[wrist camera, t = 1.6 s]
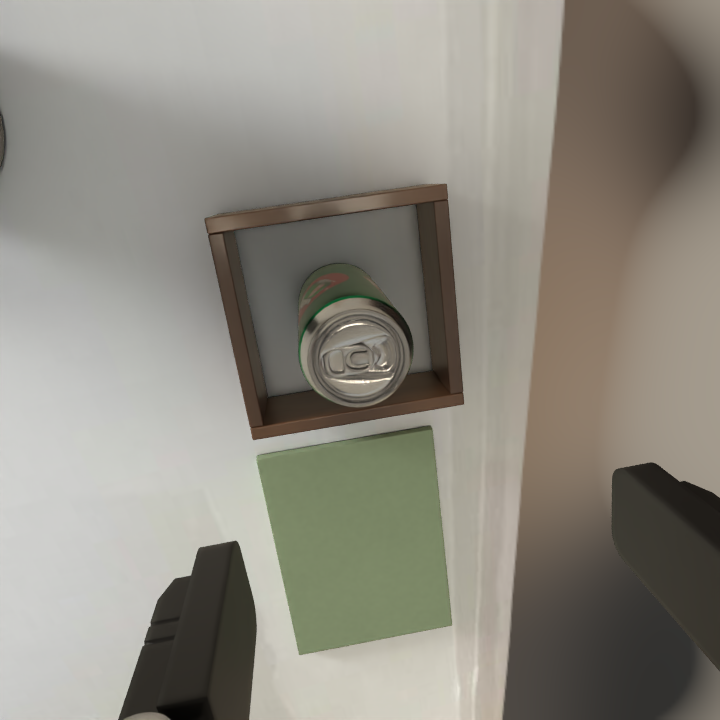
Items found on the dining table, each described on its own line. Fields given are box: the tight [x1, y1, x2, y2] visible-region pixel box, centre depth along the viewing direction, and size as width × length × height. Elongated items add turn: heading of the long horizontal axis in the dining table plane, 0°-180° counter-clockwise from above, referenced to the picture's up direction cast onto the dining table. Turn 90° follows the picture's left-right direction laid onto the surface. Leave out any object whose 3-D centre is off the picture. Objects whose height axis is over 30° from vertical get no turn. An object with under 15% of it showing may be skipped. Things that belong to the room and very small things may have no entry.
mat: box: [257, 426, 452, 655], centre depth 39 cm, size 12×17×1 cm
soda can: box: [298, 263, 413, 407], centre depth 28 cm, size 5×5×12 cm
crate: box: [205, 184, 464, 440], centre depth 32 cm, size 13×13×4 cm
